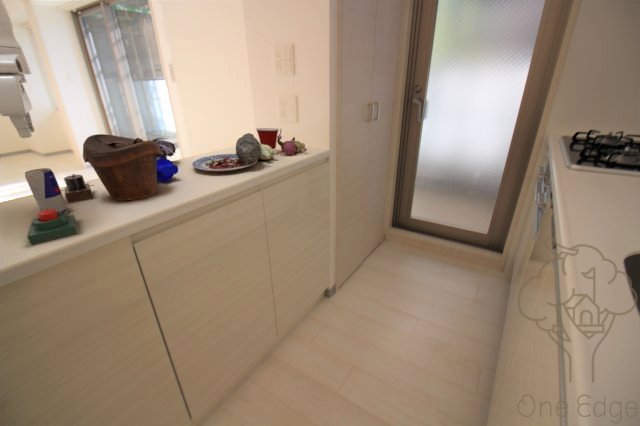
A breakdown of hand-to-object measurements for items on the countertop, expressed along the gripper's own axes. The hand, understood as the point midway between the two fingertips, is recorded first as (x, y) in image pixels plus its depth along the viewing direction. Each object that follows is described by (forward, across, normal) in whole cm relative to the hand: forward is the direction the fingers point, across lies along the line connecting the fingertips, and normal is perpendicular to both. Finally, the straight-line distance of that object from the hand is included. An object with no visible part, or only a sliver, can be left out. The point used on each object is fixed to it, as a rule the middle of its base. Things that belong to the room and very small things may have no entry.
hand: (28, 134), depth 64 cm
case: (+22, -11, +18) cm, 30 cm away
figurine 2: (+22, -32, +88) cm, 96 cm away
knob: (+19, -19, +4) cm, 27 cm away
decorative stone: (+13, -21, +57) cm, 62 cm away
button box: (+22, +6, -2) cm, 23 cm away
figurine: (+16, -28, +94) cm, 100 cm away
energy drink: (+22, -8, -2) cm, 23 cm away
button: (+18, +6, -2) cm, 19 cm away
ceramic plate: (+22, -24, +52) cm, 61 cm away
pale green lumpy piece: (+18, -17, +72) cm, 76 cm away
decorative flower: (+19, -37, +28) cm, 50 cm away
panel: (+22, -19, +4) cm, 29 cm away
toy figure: (+17, -16, +30) cm, 37 cm away
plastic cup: (+22, -32, +78) cm, 88 cm away
